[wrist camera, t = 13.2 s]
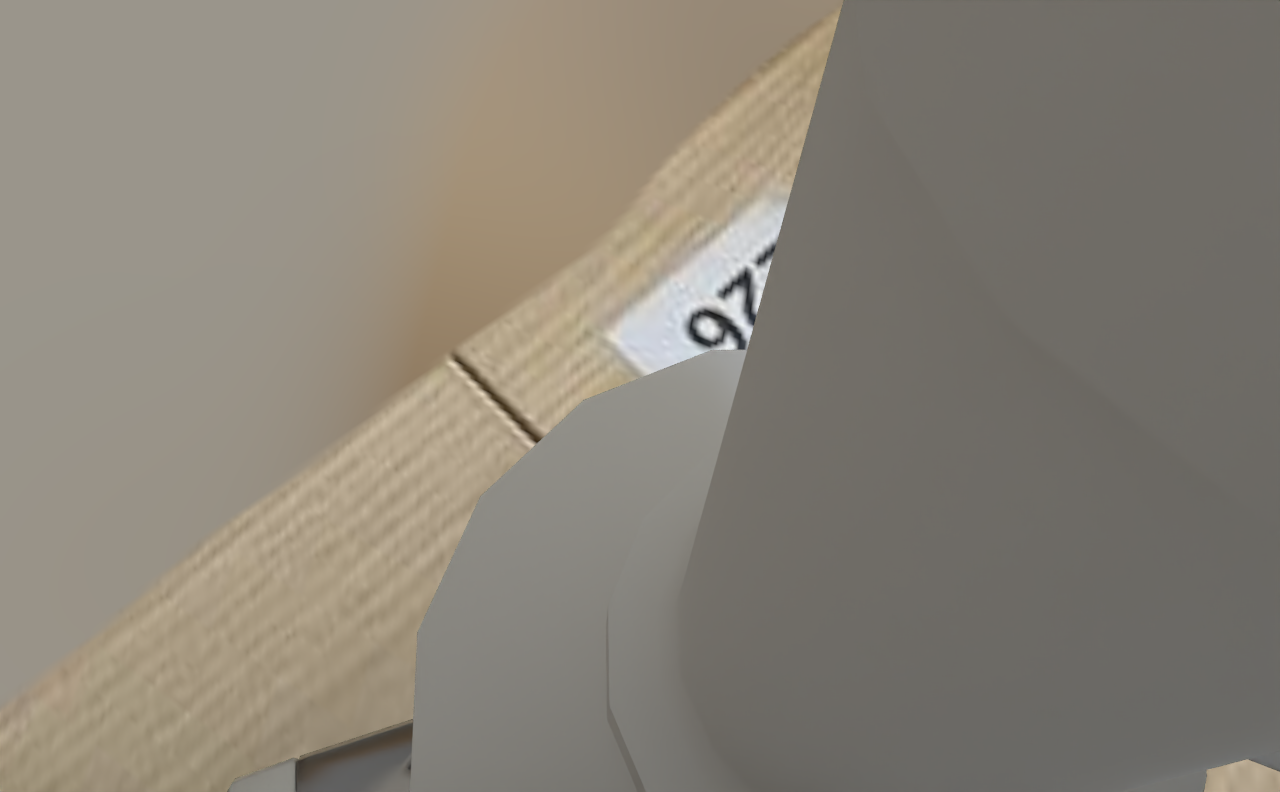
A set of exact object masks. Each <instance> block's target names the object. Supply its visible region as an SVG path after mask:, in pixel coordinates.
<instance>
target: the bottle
mask: <svg viewBox="0 0 1280 792" xmlns="http://www.w3.org/2000/svg"><path fill="white" fill-rule="evenodd" d="M1277 751H1280V0H844V2H843V5H842V9H841V12H840V16H839V20H838V23H837V27H836V31H835V34H834V38H833V41H832V45H831V49H830V52H829V56H828V59H827V63H826V67H825V70H824V74H823V78H822V81H821V85H820V88H819V92H818V96H817V99H816V103H815V107H814V110H813V114H812V117H811V121H810V125H809V128H808V132H807V136H806V139H805V143H804V146H803V150H802V154H801V157H800V161H799V164H798V168H797V172H796V175H795V179H794V183H793V186H792V190H791V193H790V197H789V201H788V204H787V208H786V212H785V215H784V219H783V222H782V226H781V230H780V233H779V237H778V240H777V244H776V248H775V251H774V255H773V259H772V262H771V266H770V269H769V273H768V277H767V280H766V284H765V288H764V291H763V295H762V298H761V302H760V306H759V309H758V313H757V317H756V320H755V324H754V327H753V331H752V335H751V338H750V342H749V345H748V349H747V350H710V351H708V352H705V353H703V354H700V355H698V356H695V357H693V358H690V359H687V360H685V361H682V362H680V363H677V364H675V365H672V366H670V367H667V368H664V369H662V370H659V371H657V372H654V373H652V374H649V375H646V376H644V377H641V378H639V379H636V380H634V381H631V382H629V383H626V384H623V385H621V386H618V387H616V388H613V389H611V390H608V391H606V392H603V393H600V394H598V395H595V396H593V397H590V398H588V399H585V400H583V401H582V402H581V403H580V404H579V405H578V406H577V407H576V408H575V409H574V410H572V411H571V412H570V413H569V414H568V415H567V416H566V417H565V418H564V419H563V420H562V421H561V422H560V423H559V424H557V425H556V426H555V427H554V428H553V429H552V430H551V431H550V432H549V433H548V434H547V435H546V436H545V437H544V438H542V439H541V440H540V441H539V442H538V443H537V444H536V445H535V446H534V447H533V448H532V449H531V450H530V451H529V452H527V453H526V454H525V455H524V456H523V457H522V458H521V459H520V460H519V461H518V462H517V463H516V464H515V465H514V466H512V467H511V468H510V469H509V470H508V471H507V472H506V473H505V474H504V475H503V476H502V477H501V478H500V479H499V480H497V481H496V482H495V483H494V484H493V485H492V486H491V487H490V488H489V489H488V490H487V491H486V492H485V493H484V494H482V495H481V496H480V498H479V501H478V503H477V505H476V507H475V509H474V511H473V514H472V516H471V518H470V520H469V522H468V524H467V526H466V529H465V531H464V533H463V535H462V537H461V539H460V542H459V544H458V546H457V548H456V550H455V552H454V555H453V557H452V559H451V561H450V563H449V565H448V567H447V570H446V572H445V574H444V576H443V578H442V580H441V583H440V585H439V587H438V589H437V591H436V593H435V596H434V598H433V600H432V602H431V604H430V606H429V608H428V611H427V613H426V615H425V617H424V619H423V621H422V624H421V626H420V628H419V630H418V632H417V653H416V674H415V695H414V716H413V737H412V758H411V779H410V792H1204V788H1205V783H1206V777H1207V774H1206V770H1207V769H1211V768H1215V767H1219V766H1223V765H1227V764H1230V763H1234V762H1238V761H1242V760H1246V759H1250V758H1253V757H1257V756H1261V755H1265V754H1269V753H1273V752H1277Z"/></svg>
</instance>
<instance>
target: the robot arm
mask: <svg viewBox="0 0 1280 792" xmlns="http://www.w3.org/2000/svg"><path fill="white" fill-rule="evenodd" d="M412 737H413V719H411V720H408V721H405V722H402V723H399V724H396V725H393V726H390V727H387V728H384V729H381V730H378V731H375V732H372V733H368V734H365V735H362V736H359V737H356V738H353V739H350V740H347V741H344V742H341V743H338V744H335V745H332V746H329V747H326V748H323V749H320V750H317V751H313V752H310V753H307V754H304V755H301V756H300V757H299V759H297V758H291V759H289V760H286V761H283V762H280V763H277V764H274V765H272V766H269V767H266V768H263V769H260V770H258V771H255V772H252V773H249V774H246V775H244V776H241V777H238V778H235V780H234V781H233V783H232V784H231V785H230V787H229V789H228V791H227V792H410V779H411V758H412ZM1249 760H1251V761H1254V762H1256V763H1259V764H1261V765H1264V766H1267V767H1269V768H1272V769H1274V770H1277V771H1280V751H1277V752H1273V753H1269V754H1265V755H1261V756H1257V757H1253V758H1250V759H1249Z"/></svg>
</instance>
